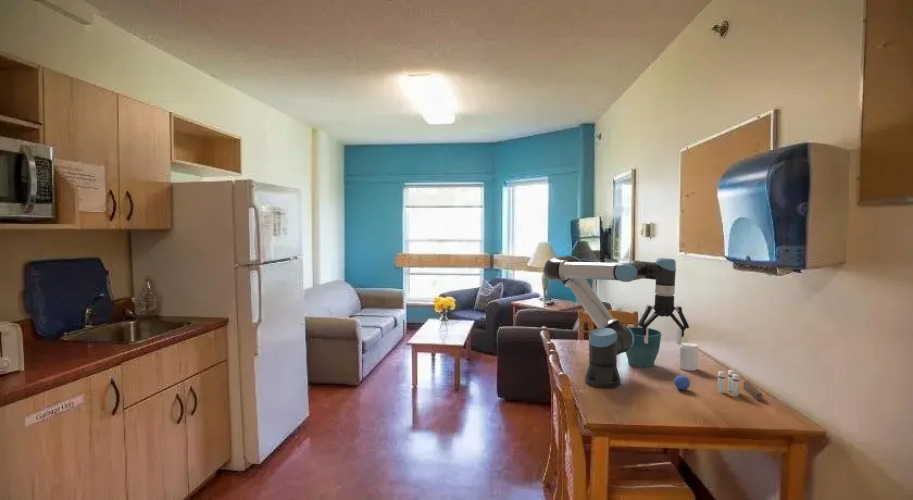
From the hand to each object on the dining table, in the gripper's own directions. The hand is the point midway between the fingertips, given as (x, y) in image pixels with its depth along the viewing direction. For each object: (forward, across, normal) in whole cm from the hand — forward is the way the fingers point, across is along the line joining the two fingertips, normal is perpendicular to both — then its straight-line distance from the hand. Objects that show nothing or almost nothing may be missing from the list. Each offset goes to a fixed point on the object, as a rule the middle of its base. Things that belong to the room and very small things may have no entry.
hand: (662, 343), depth 192 cm
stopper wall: (+18, +34, -6) cm, 39 cm away
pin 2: (+18, +27, -8) cm, 33 cm away
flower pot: (+20, 0, +30) cm, 36 cm away
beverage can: (+19, +21, +26) cm, 38 cm away
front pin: (+18, +23, -5) cm, 29 cm away
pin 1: (+18, +27, -3) cm, 33 cm away
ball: (+16, +8, -3) cm, 18 cm away
